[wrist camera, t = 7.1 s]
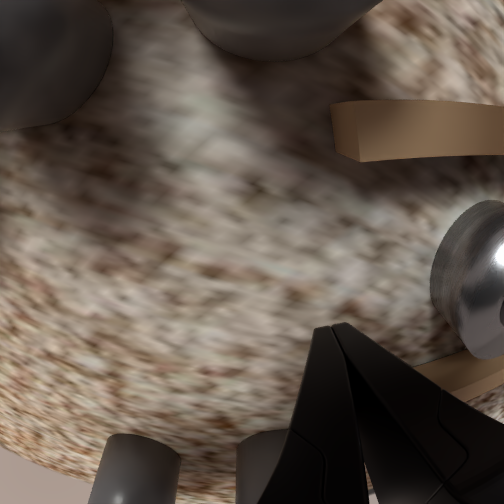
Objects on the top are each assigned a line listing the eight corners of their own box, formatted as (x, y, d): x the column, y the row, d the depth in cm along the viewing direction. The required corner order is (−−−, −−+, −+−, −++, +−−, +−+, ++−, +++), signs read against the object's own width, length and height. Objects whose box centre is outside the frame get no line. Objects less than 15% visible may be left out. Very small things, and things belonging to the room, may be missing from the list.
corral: (556, 118, 6) (589, 125, 4) (519, 342, 10) (537, 364, 9) (329, 104, 7) (353, 100, 5) (342, 403, 11) (352, 438, 9)
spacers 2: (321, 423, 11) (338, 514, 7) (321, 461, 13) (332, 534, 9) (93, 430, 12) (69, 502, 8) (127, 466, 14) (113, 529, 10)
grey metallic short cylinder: (523, 190, 8) (571, 214, 5) (509, 297, 9) (543, 331, 7) (428, 211, 8) (480, 245, 6) (423, 332, 10) (454, 379, 7)
